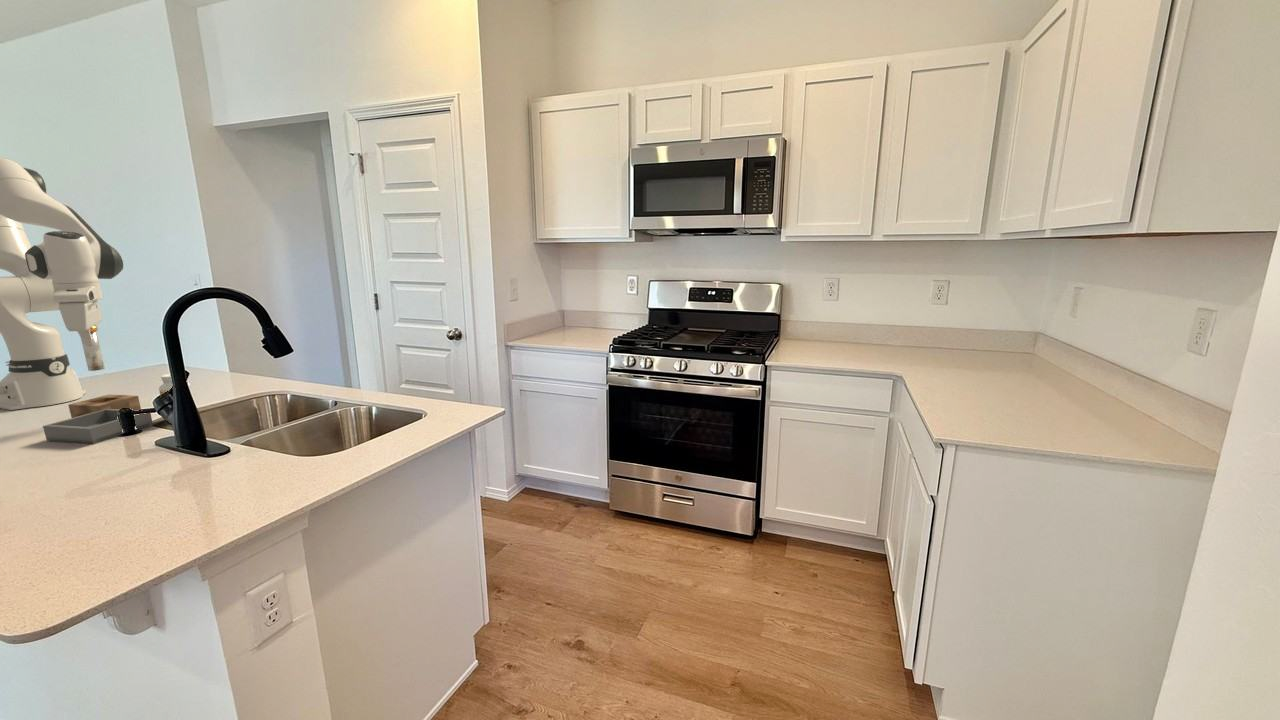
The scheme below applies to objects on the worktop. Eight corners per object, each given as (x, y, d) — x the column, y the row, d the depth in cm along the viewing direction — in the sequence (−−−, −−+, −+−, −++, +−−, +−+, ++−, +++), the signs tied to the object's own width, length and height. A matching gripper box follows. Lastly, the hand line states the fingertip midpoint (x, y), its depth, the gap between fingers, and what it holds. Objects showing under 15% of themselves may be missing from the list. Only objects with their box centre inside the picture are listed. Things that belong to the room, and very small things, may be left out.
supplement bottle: (170, 416, 149) (161, 373, 146) (199, 413, 151) (191, 370, 149) (161, 423, 143) (152, 378, 140) (191, 420, 145) (183, 376, 143)
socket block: (72, 421, 144) (68, 404, 143) (112, 410, 154) (109, 394, 153) (102, 423, 143) (98, 406, 142) (141, 412, 152) (138, 395, 151)
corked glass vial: (84, 371, 142) (74, 328, 140) (88, 369, 146) (78, 326, 143) (105, 369, 145) (95, 326, 142) (108, 367, 148) (98, 325, 145)
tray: (46, 441, 130) (42, 425, 129) (109, 422, 144) (106, 408, 143) (93, 444, 128) (89, 428, 127) (153, 424, 142) (150, 411, 141)
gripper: (71, 290, 147) (83, 338, 150) (50, 296, 131) (63, 350, 134) (103, 289, 150) (113, 336, 153) (86, 295, 134) (98, 347, 137)
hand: (90, 342), depth 143 cm, fingers closed on corked glass vial, 3 cm apart
